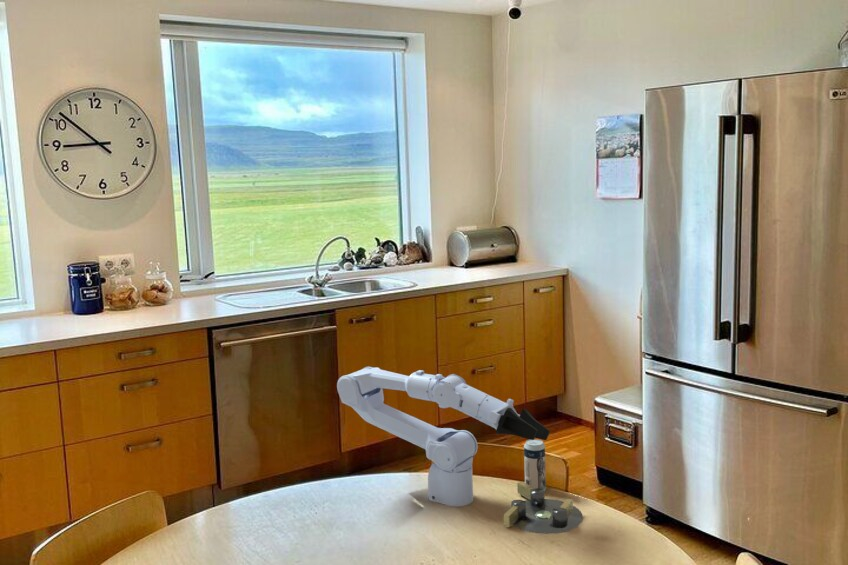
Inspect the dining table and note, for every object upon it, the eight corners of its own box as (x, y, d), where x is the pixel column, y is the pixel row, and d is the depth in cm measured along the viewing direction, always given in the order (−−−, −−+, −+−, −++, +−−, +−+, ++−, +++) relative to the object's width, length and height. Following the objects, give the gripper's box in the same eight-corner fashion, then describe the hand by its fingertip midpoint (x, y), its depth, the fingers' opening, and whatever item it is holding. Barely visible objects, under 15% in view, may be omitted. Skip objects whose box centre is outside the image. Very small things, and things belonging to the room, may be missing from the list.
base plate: (492, 529, 156) (492, 522, 156) (522, 498, 170) (522, 492, 169) (568, 545, 148) (567, 538, 148) (592, 512, 162) (592, 505, 161)
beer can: (545, 498, 169) (544, 446, 168) (524, 497, 170) (522, 445, 169) (546, 489, 174) (545, 438, 172) (525, 488, 175) (524, 438, 173)
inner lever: (514, 511, 161) (514, 498, 160) (528, 513, 159) (527, 501, 159) (499, 526, 154) (499, 513, 154) (513, 529, 153) (513, 516, 152)
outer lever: (564, 528, 152) (564, 515, 152) (550, 525, 154) (550, 512, 153) (577, 512, 159) (576, 500, 158) (563, 510, 160) (563, 497, 160)
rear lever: (547, 504, 163) (547, 491, 163) (536, 507, 162) (536, 495, 161) (525, 491, 170) (524, 480, 169) (514, 495, 168) (514, 483, 168)
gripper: (478, 388, 154) (537, 415, 147) (504, 392, 167) (560, 418, 160) (465, 420, 154) (523, 449, 147) (492, 422, 167) (547, 449, 160)
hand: (541, 435), depth 154 cm, fingers open, 7 cm apart
